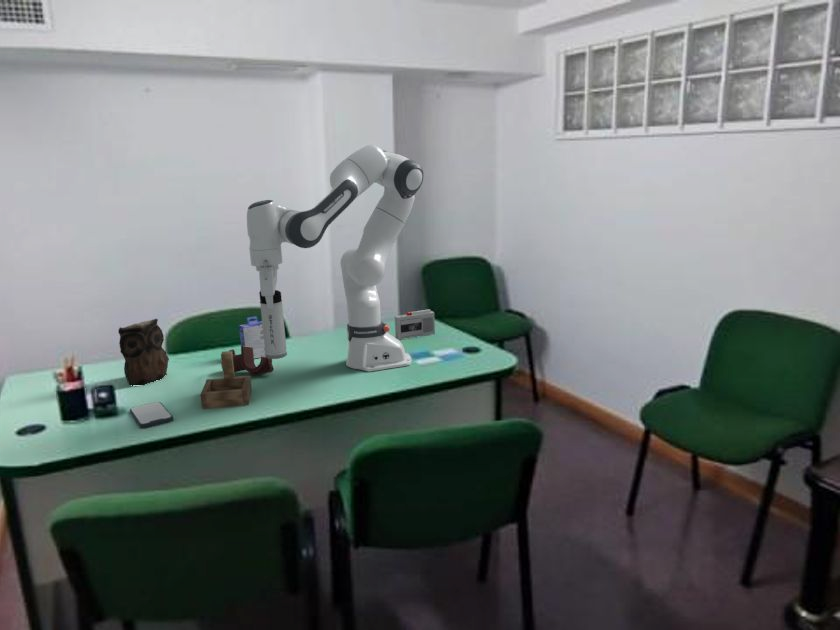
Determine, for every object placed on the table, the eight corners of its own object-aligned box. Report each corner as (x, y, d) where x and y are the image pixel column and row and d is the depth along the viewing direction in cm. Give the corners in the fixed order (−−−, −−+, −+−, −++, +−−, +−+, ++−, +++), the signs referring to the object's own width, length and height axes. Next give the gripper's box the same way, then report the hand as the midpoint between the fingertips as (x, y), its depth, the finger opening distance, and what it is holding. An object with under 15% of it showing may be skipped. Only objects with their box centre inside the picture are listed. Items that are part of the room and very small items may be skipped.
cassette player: (398, 340, 244) (397, 315, 242) (395, 338, 247) (394, 313, 244) (434, 334, 251) (434, 309, 248) (431, 332, 253) (431, 308, 250)
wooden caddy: (252, 385, 200) (248, 349, 197) (248, 404, 185) (244, 365, 182) (209, 389, 198) (205, 353, 195) (202, 409, 182) (197, 369, 180)
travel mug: (276, 351, 194) (270, 287, 189) (291, 354, 190) (285, 289, 185) (260, 357, 189) (253, 291, 184) (275, 360, 185) (268, 293, 180)
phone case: (129, 413, 183) (140, 430, 170) (128, 408, 183) (139, 425, 170) (161, 406, 188) (174, 422, 175) (160, 400, 187) (174, 416, 174)
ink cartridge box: (267, 351, 235) (263, 314, 231) (272, 355, 230) (269, 316, 227) (241, 357, 229) (237, 318, 226) (246, 360, 225) (242, 321, 221)
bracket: (267, 371, 205) (264, 341, 207) (222, 379, 209) (219, 349, 211) (277, 372, 211) (274, 342, 212) (232, 380, 215) (229, 351, 217)
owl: (172, 373, 214) (164, 316, 209) (158, 386, 202) (150, 326, 197) (134, 375, 214) (125, 317, 209) (118, 388, 202) (108, 328, 197)
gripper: (276, 263, 173) (281, 312, 176) (278, 252, 192) (283, 296, 196) (252, 264, 172) (257, 314, 175) (257, 253, 191) (262, 298, 195)
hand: (271, 304), depth 185 cm, fingers closed on travel mug, 6 cm apart
